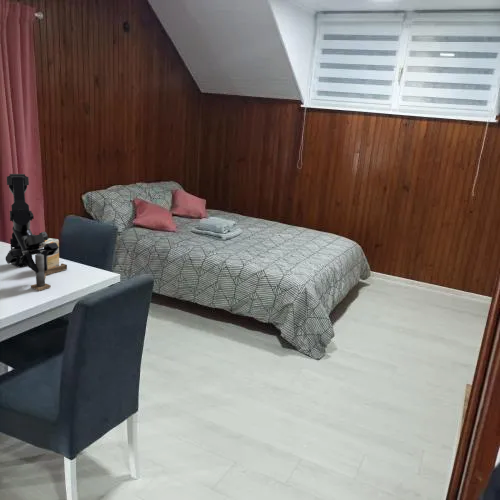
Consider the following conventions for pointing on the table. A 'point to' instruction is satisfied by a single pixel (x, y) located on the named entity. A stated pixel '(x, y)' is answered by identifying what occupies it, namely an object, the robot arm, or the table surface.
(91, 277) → the table surface
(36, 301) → the table surface
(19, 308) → the table surface
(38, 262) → the grey knob lever
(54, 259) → the supplement box
